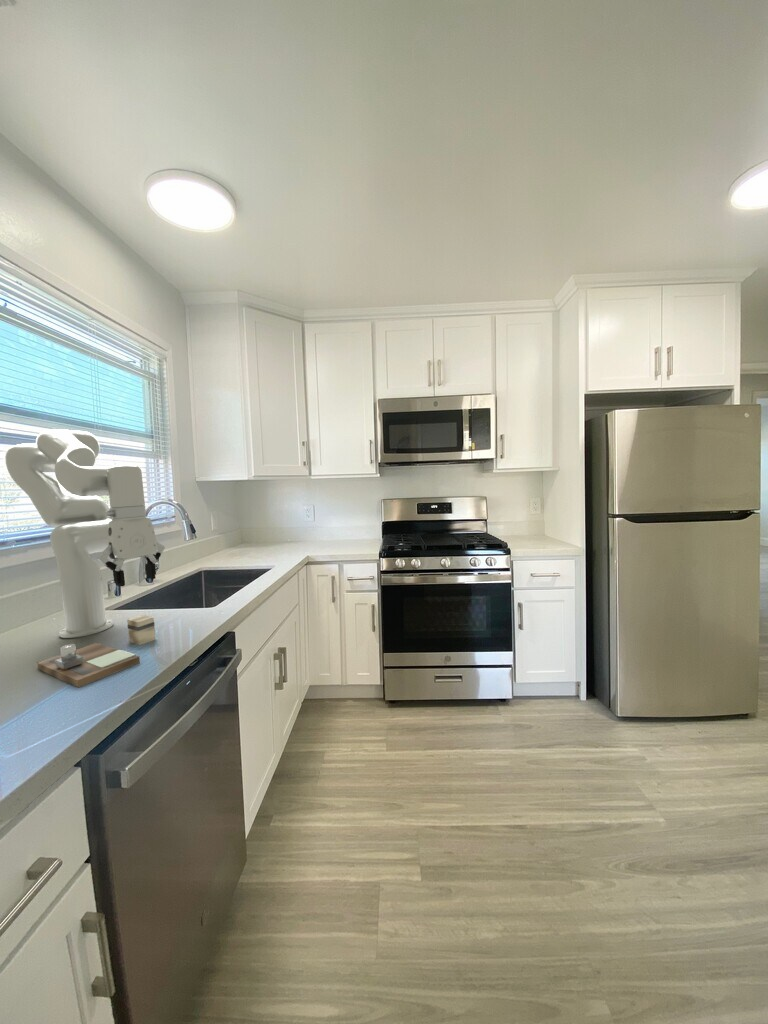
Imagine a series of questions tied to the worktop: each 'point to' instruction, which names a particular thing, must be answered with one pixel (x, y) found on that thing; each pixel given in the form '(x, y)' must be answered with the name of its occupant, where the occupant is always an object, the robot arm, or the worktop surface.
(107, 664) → the pad
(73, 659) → the silver slider knob
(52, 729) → the worktop surface
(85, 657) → the board
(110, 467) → the robot arm
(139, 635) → the beige block
